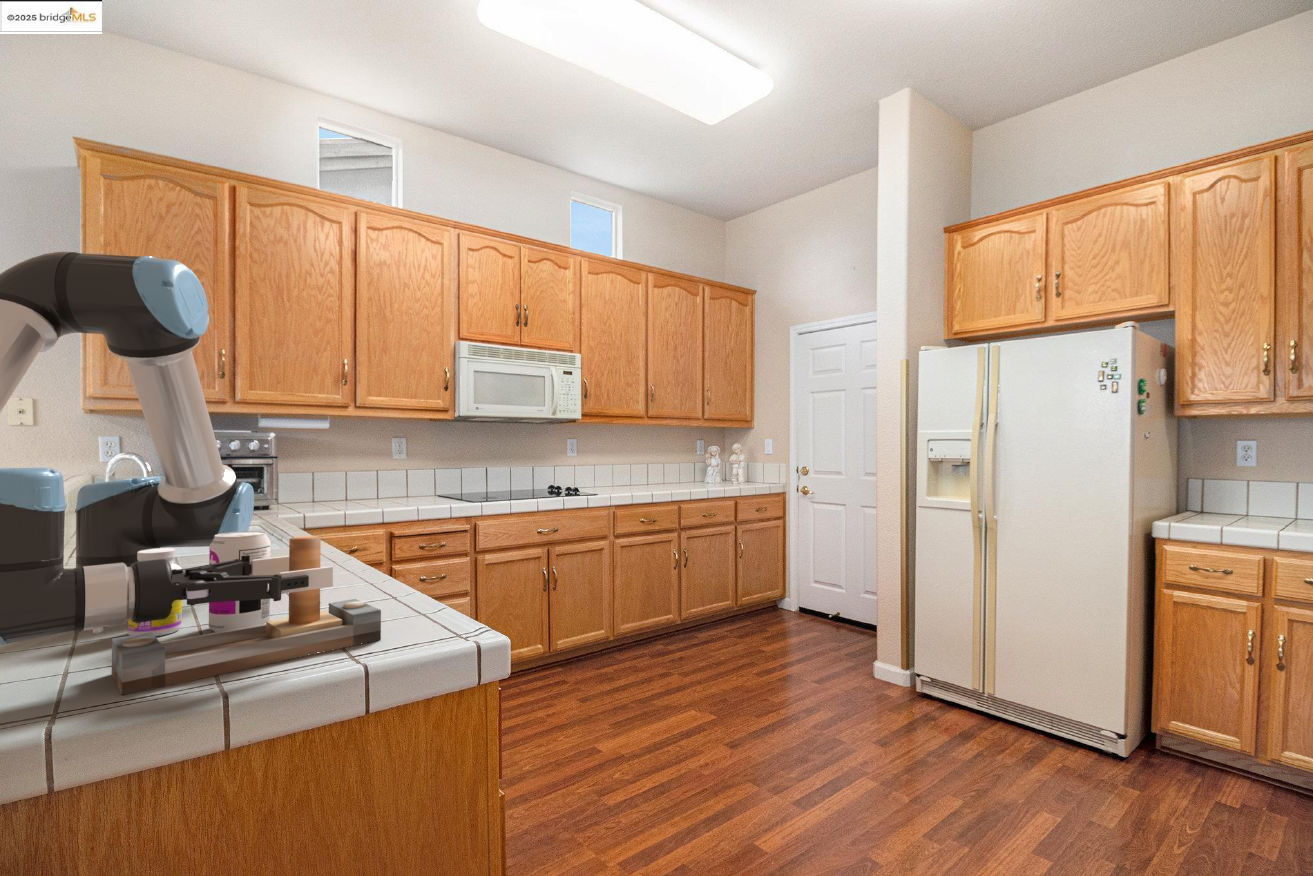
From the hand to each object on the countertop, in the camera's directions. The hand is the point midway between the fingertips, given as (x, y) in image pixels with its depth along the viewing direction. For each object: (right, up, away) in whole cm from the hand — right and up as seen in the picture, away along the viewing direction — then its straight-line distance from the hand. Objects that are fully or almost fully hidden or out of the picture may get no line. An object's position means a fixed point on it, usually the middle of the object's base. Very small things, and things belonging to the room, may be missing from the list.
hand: (315, 569), depth 94 cm
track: (-5, -11, -5) cm, 13 cm away
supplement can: (-17, -11, +9) cm, 22 cm away
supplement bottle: (-28, -11, +6) cm, 31 cm away
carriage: (-1, -9, -1) cm, 9 cm away
